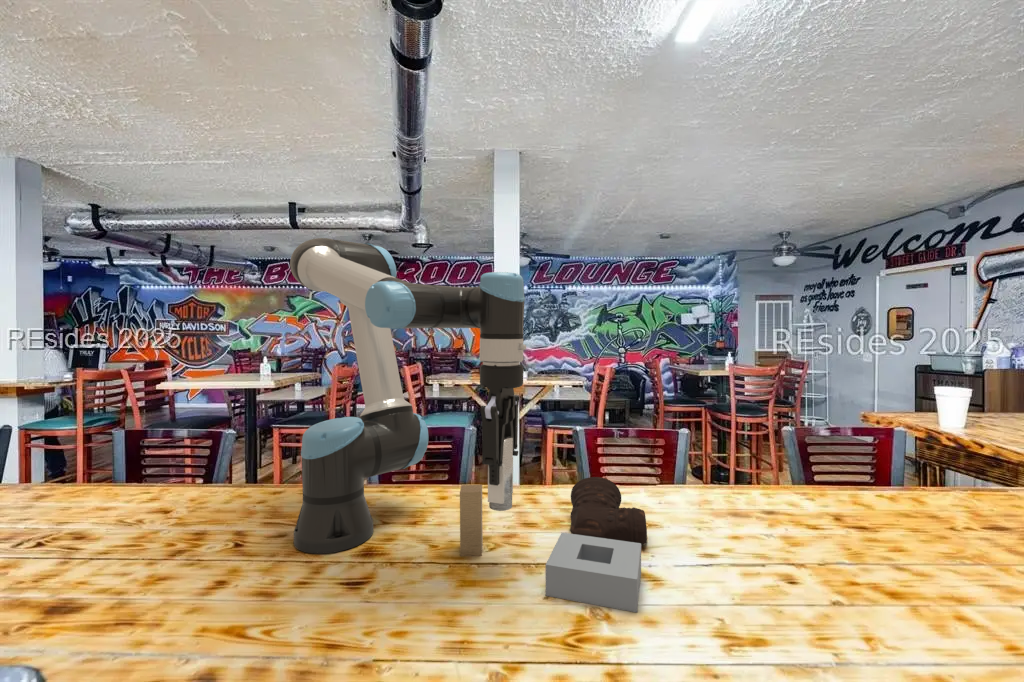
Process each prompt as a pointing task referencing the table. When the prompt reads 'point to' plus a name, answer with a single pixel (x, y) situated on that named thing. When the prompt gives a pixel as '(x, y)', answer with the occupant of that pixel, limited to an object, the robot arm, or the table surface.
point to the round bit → (506, 476)
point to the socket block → (595, 571)
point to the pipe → (605, 512)
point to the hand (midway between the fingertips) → (500, 496)
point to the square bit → (471, 520)
